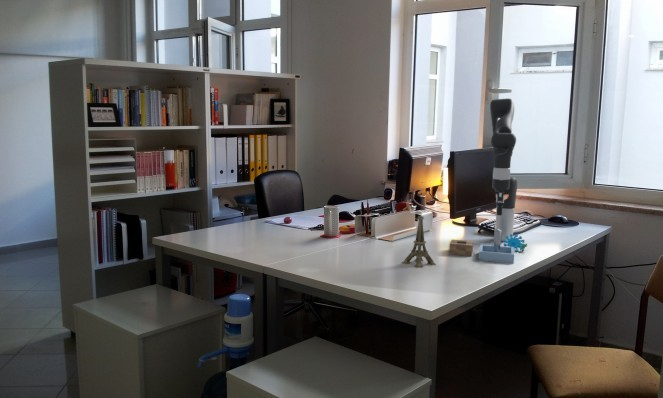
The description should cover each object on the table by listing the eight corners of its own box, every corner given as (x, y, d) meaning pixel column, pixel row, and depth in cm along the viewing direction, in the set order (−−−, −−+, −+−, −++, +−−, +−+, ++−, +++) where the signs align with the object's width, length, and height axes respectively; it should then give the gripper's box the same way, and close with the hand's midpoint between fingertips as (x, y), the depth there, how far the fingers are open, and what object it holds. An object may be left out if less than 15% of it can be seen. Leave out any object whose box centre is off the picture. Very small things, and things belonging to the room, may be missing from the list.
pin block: (451, 249, 275) (451, 239, 274) (472, 251, 272) (473, 241, 272) (449, 254, 266) (449, 243, 265) (471, 256, 263) (472, 245, 262)
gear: (500, 247, 274) (506, 231, 279) (500, 254, 279) (505, 237, 284) (524, 253, 270) (529, 236, 275) (523, 260, 274) (528, 243, 279)
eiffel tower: (418, 268, 241) (421, 209, 237) (401, 262, 249) (403, 206, 245) (436, 264, 247) (438, 207, 243) (418, 259, 255) (421, 204, 252)
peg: (493, 254, 262) (494, 229, 261) (499, 255, 262) (501, 229, 260) (492, 256, 260) (494, 230, 258) (499, 256, 259) (501, 230, 257)
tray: (480, 252, 270) (480, 244, 269) (513, 255, 266) (513, 247, 265) (478, 260, 256) (479, 251, 255) (513, 263, 251) (514, 254, 251)
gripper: (492, 175, 263) (491, 210, 265) (492, 179, 249) (490, 215, 252) (510, 176, 261) (507, 211, 263) (510, 180, 247) (508, 216, 250)
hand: (499, 213), depth 258 cm, fingers open, 8 cm apart
